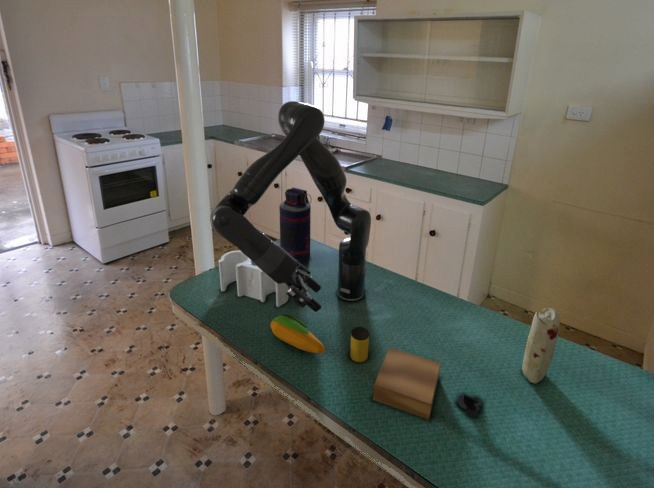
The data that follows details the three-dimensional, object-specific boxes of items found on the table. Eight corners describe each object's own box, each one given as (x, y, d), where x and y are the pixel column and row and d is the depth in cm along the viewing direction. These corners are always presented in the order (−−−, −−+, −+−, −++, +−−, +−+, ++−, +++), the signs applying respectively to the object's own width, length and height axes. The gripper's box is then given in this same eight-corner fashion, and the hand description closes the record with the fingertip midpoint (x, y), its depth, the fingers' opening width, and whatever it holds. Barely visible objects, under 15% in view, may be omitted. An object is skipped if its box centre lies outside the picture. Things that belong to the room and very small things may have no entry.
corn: (280, 304, 124) (333, 331, 113) (282, 323, 127) (333, 351, 116) (263, 317, 118) (316, 347, 107) (265, 337, 121) (317, 368, 110)
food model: (545, 391, 105) (562, 329, 98) (517, 380, 108) (532, 319, 101) (548, 367, 113) (565, 308, 106) (523, 357, 116) (537, 299, 109)
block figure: (462, 384, 103) (485, 394, 101) (461, 391, 104) (483, 401, 101) (455, 401, 99) (479, 412, 96) (454, 408, 99) (477, 419, 97)
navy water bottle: (298, 271, 155) (298, 199, 145) (274, 262, 161) (272, 192, 150) (318, 256, 167) (319, 188, 156) (295, 248, 172) (294, 182, 162)
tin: (355, 346, 118) (356, 324, 115) (371, 353, 116) (372, 331, 113) (346, 357, 114) (347, 334, 111) (362, 365, 112) (363, 341, 109)
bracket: (294, 293, 142) (293, 263, 138) (280, 309, 133) (279, 277, 129) (234, 276, 151) (232, 247, 146) (218, 290, 142) (215, 260, 138)
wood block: (388, 361, 113) (389, 347, 111) (438, 377, 108) (440, 362, 107) (372, 399, 101) (374, 384, 99) (429, 419, 96) (431, 404, 94)
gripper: (282, 267, 96) (329, 307, 100) (287, 239, 109) (328, 275, 113) (260, 286, 97) (308, 325, 102) (267, 256, 110) (309, 291, 115)
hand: (318, 299), depth 108 cm, fingers open, 8 cm apart
